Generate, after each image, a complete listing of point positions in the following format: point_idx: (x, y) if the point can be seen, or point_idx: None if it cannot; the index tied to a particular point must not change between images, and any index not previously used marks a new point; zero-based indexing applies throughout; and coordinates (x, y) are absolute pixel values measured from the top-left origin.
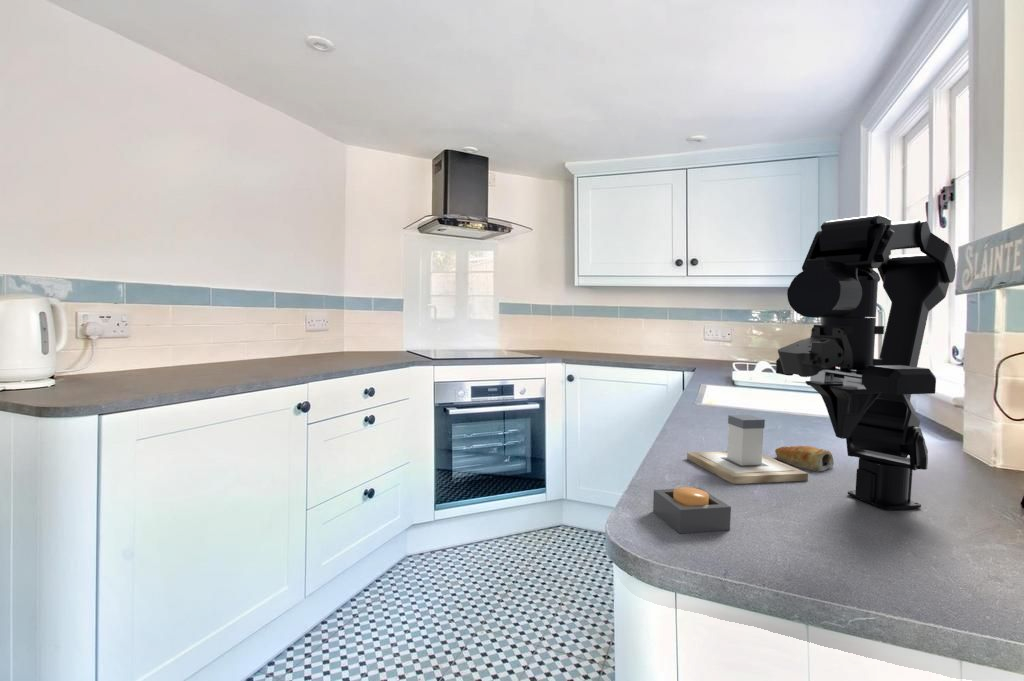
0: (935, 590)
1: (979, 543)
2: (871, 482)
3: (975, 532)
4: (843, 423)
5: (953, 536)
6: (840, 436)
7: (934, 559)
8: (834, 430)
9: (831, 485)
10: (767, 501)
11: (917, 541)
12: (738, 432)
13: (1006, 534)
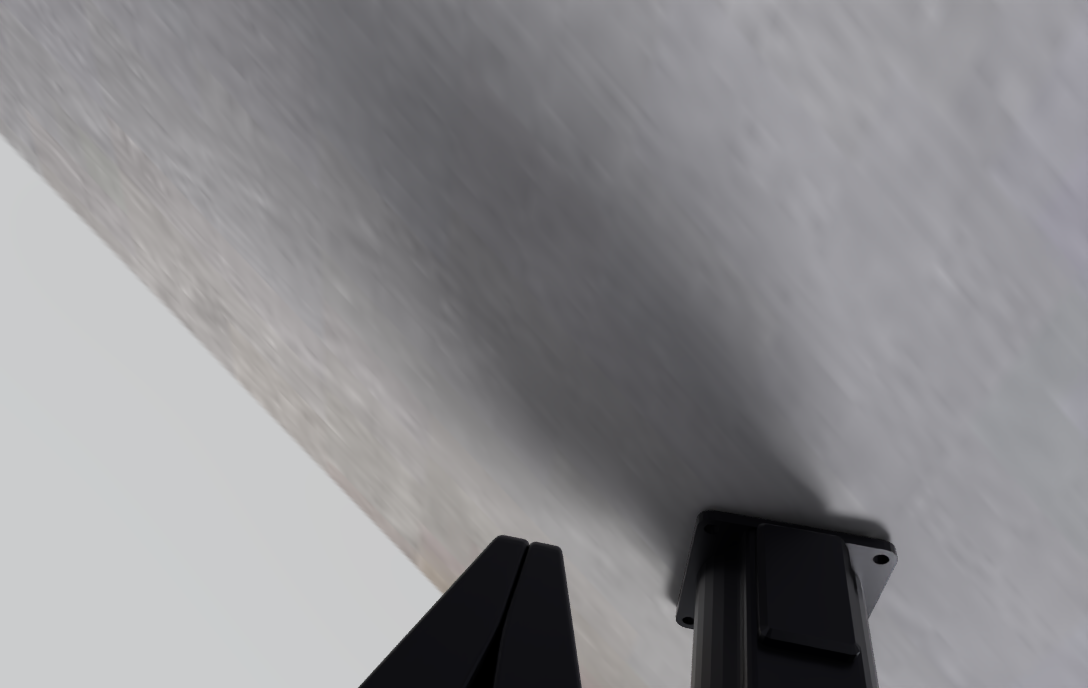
0: (95, 30)
1: (424, 499)
2: (764, 595)
3: None
4: (386, 660)
5: (475, 487)
6: (497, 544)
7: (322, 270)
8: (558, 594)
9: (1015, 585)
10: (1078, 100)
11: (454, 356)
12: None
13: None
